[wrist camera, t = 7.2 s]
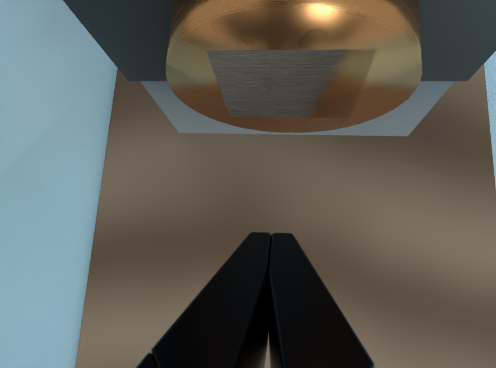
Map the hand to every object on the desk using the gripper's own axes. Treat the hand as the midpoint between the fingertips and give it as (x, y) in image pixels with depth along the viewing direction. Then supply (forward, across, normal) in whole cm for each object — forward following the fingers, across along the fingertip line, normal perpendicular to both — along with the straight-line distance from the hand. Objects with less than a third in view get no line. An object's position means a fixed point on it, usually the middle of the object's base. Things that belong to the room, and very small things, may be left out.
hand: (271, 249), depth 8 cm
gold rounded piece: (+7, 0, -4) cm, 8 cm away
